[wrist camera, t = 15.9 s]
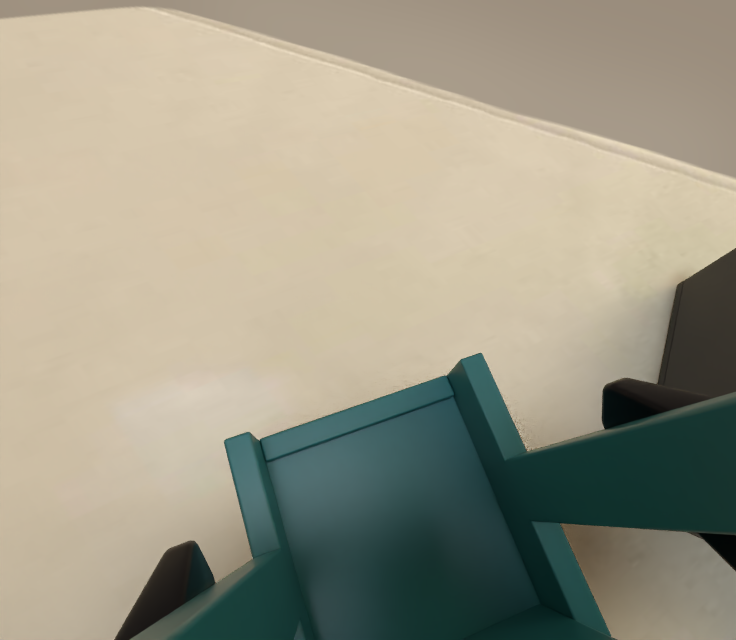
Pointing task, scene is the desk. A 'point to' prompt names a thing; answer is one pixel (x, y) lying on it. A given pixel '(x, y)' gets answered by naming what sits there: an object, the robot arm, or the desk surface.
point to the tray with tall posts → (448, 517)
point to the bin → (703, 333)
